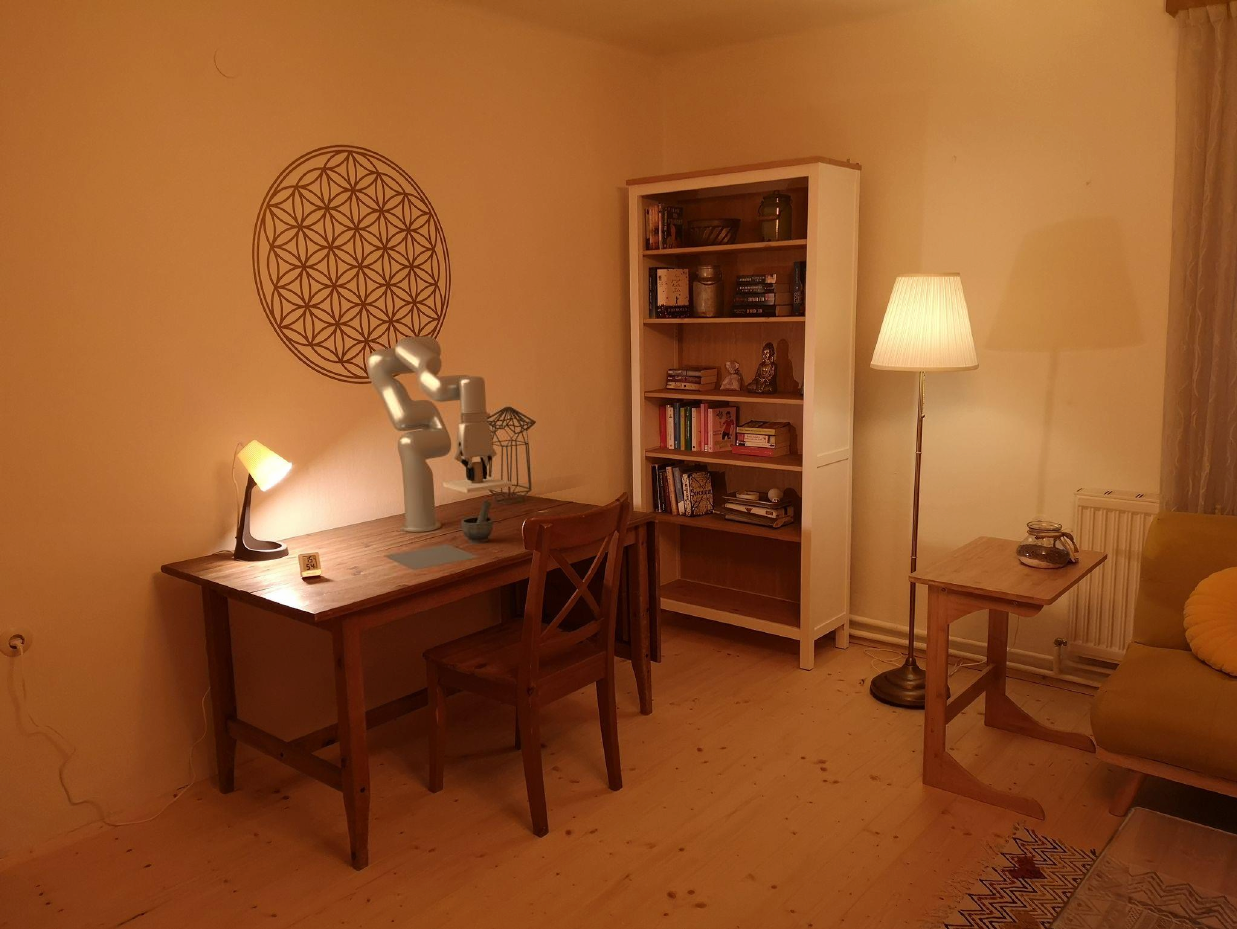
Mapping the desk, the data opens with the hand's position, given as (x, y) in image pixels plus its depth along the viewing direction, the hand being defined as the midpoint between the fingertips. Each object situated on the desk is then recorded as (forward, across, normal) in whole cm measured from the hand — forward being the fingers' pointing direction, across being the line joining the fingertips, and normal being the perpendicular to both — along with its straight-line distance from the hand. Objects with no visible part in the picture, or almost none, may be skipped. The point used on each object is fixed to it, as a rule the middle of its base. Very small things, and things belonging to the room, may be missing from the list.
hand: (477, 478), depth 286 cm
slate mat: (+19, +20, +8) cm, 29 cm away
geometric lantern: (+19, -39, -47) cm, 64 cm away
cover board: (+2, 0, 0) cm, 2 cm away
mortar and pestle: (+20, 0, 0) cm, 20 cm away
